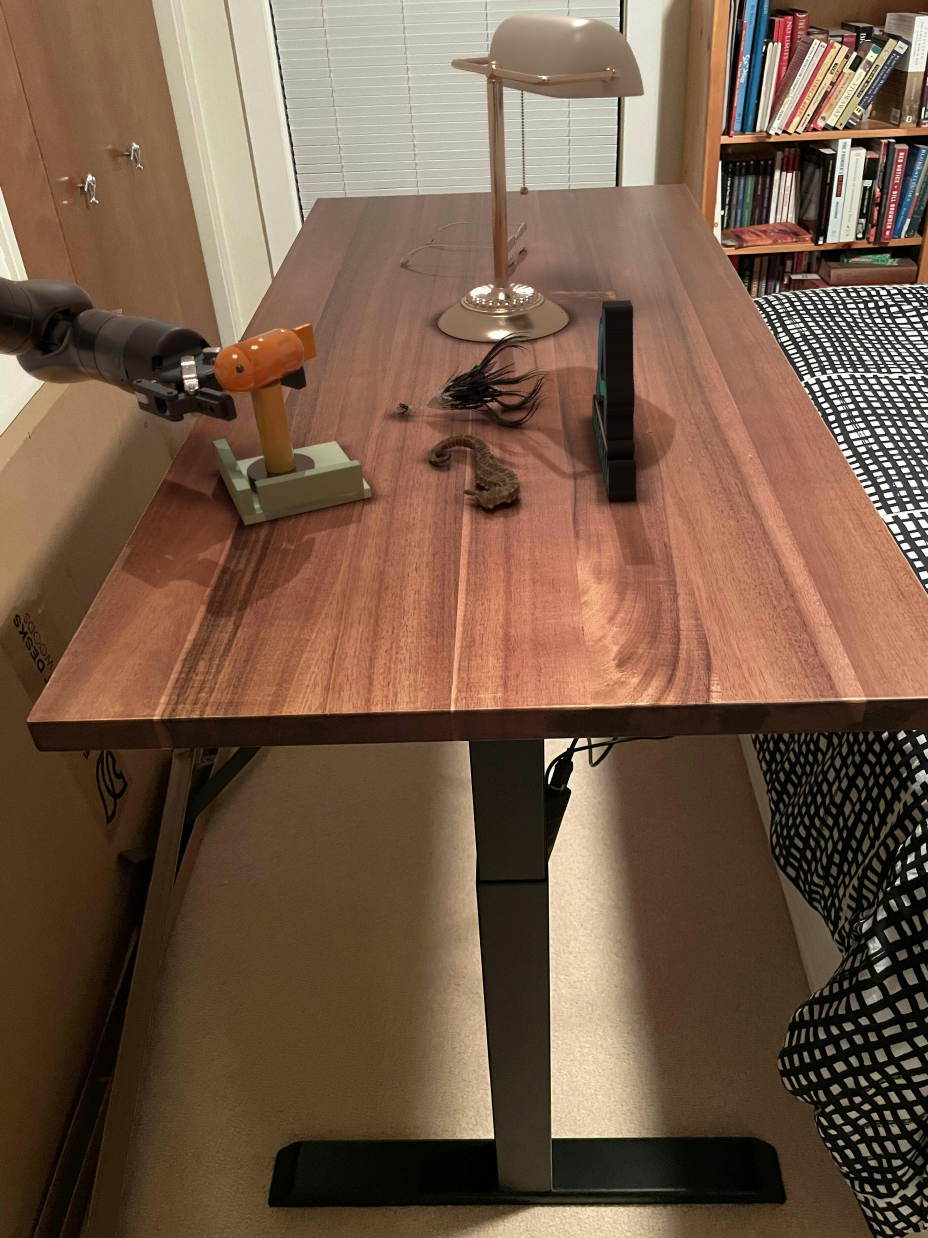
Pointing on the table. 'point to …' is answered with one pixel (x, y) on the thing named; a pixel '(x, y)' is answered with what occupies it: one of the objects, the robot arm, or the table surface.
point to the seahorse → (482, 470)
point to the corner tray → (293, 483)
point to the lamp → (541, 64)
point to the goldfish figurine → (268, 393)
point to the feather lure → (485, 387)
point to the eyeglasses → (510, 245)
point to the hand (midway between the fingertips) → (268, 393)
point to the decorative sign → (616, 400)
